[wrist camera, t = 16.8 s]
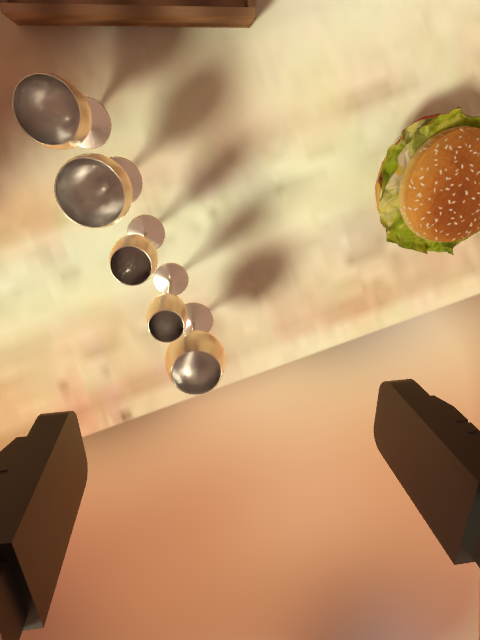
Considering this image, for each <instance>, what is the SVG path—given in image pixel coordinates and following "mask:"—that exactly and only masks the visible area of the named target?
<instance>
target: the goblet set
mask: <svg viewBox="0 0 480 640" xmlns="http://www.w3.org/2000/svg"><path fill="white" fill-rule="evenodd" d="M12 108H13V112H14V116H15V118H16V120H17V122H18V124H19V126H20V127H21V129H22V130H23V131H24V132H25V133H26V134H27V135H28V136H29V137H31V138H32V139H33V140H35V141H36V142H38V143H40V144H42V145H44V146H47V147H50V148H54V149H69V148H73V147H75V146H77V145H79V146H81V147H83V148H87V149H94V148H98V147H100V146H102V145H103V144H105V143H106V141H107V140H108V138H109V136H110V133H111V120H110V117H109V114H108V112H107V111H106V109H105V108H104V107H103V106H102V105H101V104H100V103H99V102H98V101H96V100H94V99H92V98H89V97H84V95H83V94H82V92H81V91H80V90H79V89H78V88H77V87H76V86H75V85H74V84H72V83H71V82H70V81H68V80H67V79H65V78H63V77H60V76H58V75H54V74H50V73H34V74H30V75H28V76H26V77H24V78H23V79H22V80H20V82H19V83H18V84H17V86H16V87H15V89H14V92H13V97H12ZM141 190H142V178H141V175H140V172H139V170H138V169H137V167H136V166H135V165H134V164H133V163H132V162H130V161H129V160H127V159H125V158H122V157H110V158H109V157H106V156H103V155H100V154H93V153H89V154H82V155H78V156H76V157H74V158H72V159H70V160H69V161H68V162H66V163H65V164H64V165H63V166H62V167H61V169H60V170H59V172H58V174H57V176H56V179H55V184H54V192H55V197H56V200H57V203H58V205H59V207H60V209H61V210H62V211H63V213H64V214H65V215H66V216H67V217H68V218H69V219H71V220H72V221H73V222H75V223H77V224H79V225H81V226H84V227H89V228H102V227H107V226H110V225H113V224H115V223H117V222H118V221H120V220H121V219H122V218H123V217H124V216H125V215H126V213H127V212H128V210H129V208H130V205H131V203H132V202H134V201H135V200H136V199H137V198H138V197H139V195H140V193H141ZM127 233H128V235H127V236H125V237H123V238H121V239H120V240H119V241H117V242H116V244H115V245H114V246H113V248H112V250H111V253H110V259H109V265H110V270H111V273H112V275H113V276H114V277H115V279H117V280H118V281H119V282H121V283H122V284H125V285H129V286H136V285H140V284H142V283H144V282H145V281H147V280H148V279H149V278H150V277H151V276H152V275H153V273H154V271H155V269H156V267H157V263H158V254H157V250H156V249H158V248H159V247H160V246H161V245H162V243H163V241H164V238H165V231H164V227H163V225H162V224H161V222H160V221H159V220H158V219H156V218H155V217H153V216H150V215H140V216H137V217H135V218H134V219H133V220H132V221H131V222H130V224H129V226H128V231H127ZM154 284H155V286H156V288H157V289H158V291H160V292H161V293H162V294H161V295H159V296H158V297H156V298H155V299H154V300H153V301H152V303H151V304H150V306H149V309H148V312H147V325H148V329H149V332H150V334H151V335H152V336H153V337H154V338H155V339H156V340H158V341H161V342H171V343H170V345H169V347H168V349H167V352H166V357H165V365H166V370H167V373H168V375H169V377H170V379H171V380H172V382H173V383H174V385H175V386H176V387H177V388H178V389H179V390H181V391H183V392H185V393H188V394H203V393H206V392H208V391H210V390H212V389H213V388H214V387H215V386H216V385H217V384H218V382H219V381H220V379H221V377H222V374H223V372H224V368H225V362H226V359H225V352H224V349H223V347H222V345H221V343H220V342H219V341H218V339H217V338H215V337H214V336H213V335H212V334H210V333H208V332H209V331H210V329H211V327H212V324H213V317H212V314H211V312H210V311H209V309H208V308H207V307H205V306H204V305H202V304H199V303H188V304H184V302H183V301H182V300H181V299H180V298H179V297H178V296H176V295H178V294H180V293H182V292H183V291H184V290H185V289H186V287H187V285H188V275H187V272H186V271H185V269H184V268H183V267H181V266H180V265H178V264H175V263H166V264H163V265H161V266H160V267H159V268H158V269H157V270H156V272H155V274H154Z"/></svg>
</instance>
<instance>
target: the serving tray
mask: <svg viewBox="0 0 480 640" xmlns="http://www.w3.org/2000/svg"><path fill="white" fill-rule="evenodd" d="M0 6H1V11H2V13H3V14H5V15H6V16H7V17H8V18H10V19H11V20H12V21H14V22H15V23H16V24H17V25H67V26H147V27H227V28H250V26H251V24H252V22H253V20H254V18H255V0H0Z"/></svg>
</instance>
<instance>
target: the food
mask: <svg viewBox="0 0 480 640" xmlns="http://www.w3.org/2000/svg"><path fill="white" fill-rule="evenodd" d="M460 109H461V108H460V107H457V109H455V110H452V111H451V112H450V113H449V114H435V115H430V116H426V117H423V118H421V119H419V120H418V121H416V122H414V123H413V124H412V125H411V126H409V127H408V128H406V129H404V130H403V131H402V136H401V138H400V140H399V141H398V142H397V143H396V144H395V145H391V146H390V147H389V149H388V151H387V156H386V158H385V159H384V161H383V162H382V165H381V168H380V172H379V175H378V179H377V182H376V186H375V190H376V200H377V208H378V211H379V213H380V221H381V223H382V225H383V227H385V228H386V232H387V241H388V242H393V243H396V244H398V245H399V246H400V247H402V248H407V249H413V250H416V251H419V252H423V253H426V254H427V251H436V252H448V253H450V254H452V255H453V247H454V246H456V245H457V244H458V243H460V242H462V241H463V240H465V239H467V238H468V237H470V236H471V235H473V234H475V233H477V232H478V231H480V117H471V116H468V115H464V114H463V112H462V111H461V110H460Z"/></svg>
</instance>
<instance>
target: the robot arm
mask: <svg viewBox="0 0 480 640" xmlns="http://www.w3.org/2000/svg"><path fill="white" fill-rule="evenodd" d="M374 438H375V442H376V445H377V447H378V450H379V451H380V453H381V454H382V456H383V457H384V459H385V461H386V462H387V464H388V465H389V467H390V468H391V470H392V471H393V472H394V474H395V476H396V477H397V479H398V480H399V482H400V483H401V485H402V486H403V488H404V489H405V491H406V492H407V494H408V495H409V496H410V498H411V500H412V501H413V503H414V504H415V506H416V507H417V509H418V510H419V512H420V514H421V515H422V516H423V518H424V520H425V521H426V523H427V524H428V525H429V527H430V529H431V530H432V532H433V533H434V535H435V536H436V538H437V539H438V541H439V542H440V544H441V545H442V546H443V548H444V550H445V551H446V553H447V554H448V556H449V557H450V559H451V560H452V562H453V563H454V565H456V564H463V563H469V562H476V563H477V565H478V566H479V568H480V431H479V430H478V429H477V428H476V427H475V426H474V425H473V424H472V423H468V419H466V418H465V417H464V416H463V415H462V414H461V413H460V412H459V411H458V410H457V409H456V408H455V407H454V406H452V405H450V404H448V403H447V402H445V401H443V400H441V399H439V398H437V397H436V396H430V395H429V394H428V393H427V392H426V391H425V390H424V389H423V388H422V387H421V386H420V385H419V384H417V383H416V382H415V381H414V380H412V379H406V380H396V381H385V382H383V383H382V384H381V385H380V388H379V394H378V401H377V408H376V416H375V422H374ZM86 481H87V458H86V454H85V450H84V445H83V441H82V436H81V432H80V428H79V424H78V419H77V416H76V414H75V412H74V411H66V412H56V413H46V414H40V415H39V416H38V417H37V419H36V421H35V423H34V424H33V426H32V428H31V430H30V432H29V434H28V435H27V436H26V437H17V438H15V439H14V440H13V441H12V442H11V443H10V444H9V445H7V446H6V447H5V448H4V449H3V450H2V451H0V640H19V639H20V636H21V633H22V631H24V630H31V629H38V628H44V625H45V621H46V618H47V614H48V611H49V608H50V604H51V601H52V597H53V594H54V591H55V587H56V584H57V580H58V577H59V574H60V570H61V567H62V564H63V560H64V557H65V553H66V550H67V547H68V543H69V540H70V537H71V533H72V530H73V526H74V523H75V520H76V516H77V513H78V509H79V506H80V502H81V499H82V496H83V493H84V489H85V485H86ZM479 640H480V578H479Z"/></svg>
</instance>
